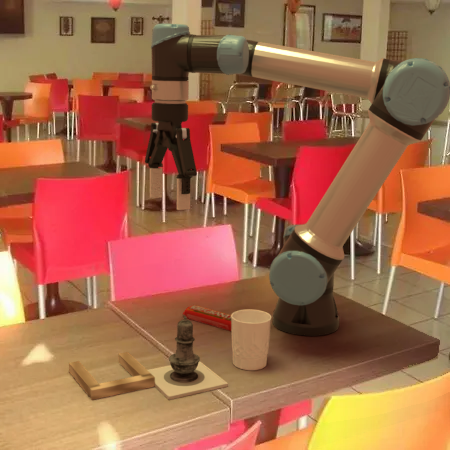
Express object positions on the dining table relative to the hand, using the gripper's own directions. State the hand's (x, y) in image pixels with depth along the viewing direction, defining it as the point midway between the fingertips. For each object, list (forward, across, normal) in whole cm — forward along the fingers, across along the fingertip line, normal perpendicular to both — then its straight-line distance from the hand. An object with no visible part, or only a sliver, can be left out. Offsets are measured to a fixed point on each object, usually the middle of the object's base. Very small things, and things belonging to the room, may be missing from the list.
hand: (169, 203), depth 153 cm
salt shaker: (+28, +24, -8) cm, 38 cm away
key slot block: (+29, +17, -20) cm, 39 cm away
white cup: (+29, +23, +7) cm, 38 cm away
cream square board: (+29, +24, -8) cm, 38 cm away
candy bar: (+29, 0, +11) cm, 31 cm away
